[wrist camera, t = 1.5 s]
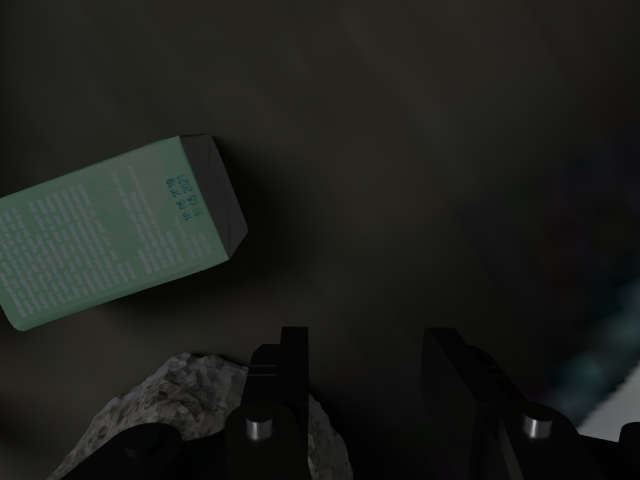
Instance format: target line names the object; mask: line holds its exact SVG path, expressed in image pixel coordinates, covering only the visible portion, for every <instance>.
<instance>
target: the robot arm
mask: <svg viewBox="0 0 640 480" xmlns="http://www.w3.org/2000/svg"><path fill="white" fill-rule="evenodd" d="M420 389H421V396H422V400H423V403H424V405H425V407H426V410H427V412H428V414H429V416H430V419H431V421H432V423H433V425H434V428H435V430H436V432H437V435H438V437H439V439H440V441H441V444H442V446H443V448H444V450H445V453H446V455H447V457H448V459H449V462H450V464H451V466H452V469H453V471H454V473H455V475H456V478H457V480H640V422H632V423H628V424H625V425H624V426H623V427H622V429H621V432H620V437H619V442H614V441H608V440H604V439H599V438H593V437H589V436H584V435H580V434H579V433H578V432H577V430H576V428H575V427H574V425H573V424H572V422H571V421H570V420H569V419H568V418H567V417H566V416H564V415H563V414H562V413H560V412H559V411H557V410H555V409H553V408H551V407H549V406H546V405H544V404H540V403H537V402H533V401H528V400H527V399H526V397H525V396H524V395H523V394H522V393H521V391H520V390H519V389H518V388H517V387H516V385H515V384H514V383H513V382H512V381H511V380H510V378H509V377H506V374H505V372H504V371H503V370H502V369H501V368H500V367H498V364H497V363H496V362H495V361H494V359H493V358H492V357H491V356H490V355H489V354H488V353H486V352H485V351H483V350H481V349H480V348H478V347H476V346H475V345H467V344H466V342H465V341H464V340H463V338H462V337H461V336H460V335H459V333H458V332H457V331H456V329H455V328H426V329H425V332H424V338H423V350H422V363H421V375H420ZM308 431H309V359H308V327H282V333H281V341H280V344H262V345H261V346H260V347H259V348H258V349H257V350H256V351H255V352H254V353H253V354H252V358H251V362H250V367H249V370H248V376H247V378H246V382H245V386H244V390H243V394H242V398H241V402H240V406H239V407H237V408H236V409H234V410H233V411H232V412H231V413H230V414H229V415H228V417H227V418H226V421H225V428H224V429H222V430H220V431H218V432H216V433H214V434H211V435H209V436H205V437H201V438H197V439H192V440H188V441H184V442H182V435H181V433H180V431H179V430H178V429H177V428H175V427H174V426H172V425H169V424H166V423H159V422H151V423H143V424H139V425H135V426H132V427H130V428H127V429H125V430H123V431H121V432H120V433H118V434H116V435H115V436H113V437H112V438H111V439H110V440H108V441H107V442H106V443H105V444H103V445H102V446H101V447H100V448H98V449H97V450H96V451H95V452H93V453H92V454H91V455H89V456H88V457H87V458H86V459H84V460H83V461H82V462H81V463H79V464H78V465H77V466H76V467H74V468H73V469H72V470H71V471H69V472H68V473H67V474H66V475H64V476H63V477H62V478H61V479H59V480H313V479H312V475H311V472H310V468H309V465H308Z"/></svg>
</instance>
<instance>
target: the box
mask: <svg viewBox="0 0 640 480" xmlns="http://www.w3.org/2000/svg"><path fill="white" fill-rule="evenodd" d="M247 233H248V228H247V224H246V222H245V219H244V216H243V214H242V211H241V208H240V206H239V203H238V201H237V198H236V195H235V193H234V190H233V187H232V185H231V182H230V179H229V177H228V174H227V172H226V169H225V166H224V164H223V161H222V159H221V157H220V154H219V152H218V150H217V147H216V145H215V143H214V141H213V139H212V137H211V136H210V135H209V134H198V135H185V136H177V137H173V138H169V139H164V140H160V141H157V142H154V143H151V144H148V145H146V146H143V147H140V148H137V149H135V150H132V151H129V152H126V153H124V154H121V155H118V156H115V157H112V158H110V159H107V160H104V161H101V162H99V163H96V164H93V165H90V166H88V167H85V168H82V169H79V170H77V171H74V172H71V173H68V174H66V175H63V176H60V177H57V178H55V179H52V180H49V181H46V182H43V183H41V184H38V185H35V186H32V187H30V188H27V189H24V190H21V191H19V192H16V193H13V194H10V195H8V196H5V197H2V198H0V305H1V306H2V308H3V310H4V312H5V314H6V316H7V318H8V320H9V322H10V323H11V324H12V325H13V327H14V328H16V329H18V330H21V331H26V330H28V329H31V328H33V327H36V326H39V325H42V324H44V323H47V322H50V321H53V320H56V319H59V318H62V317H64V316H67V315H70V314H73V313H76V312H79V311H82V310H85V309H88V308H91V307H94V306H97V305H99V304H102V303H105V302H108V301H111V300H114V299H117V298H120V297H123V296H126V295H129V294H132V293H135V292H138V291H141V290H144V289H147V288H150V287H153V286H156V285H160V284H163V283H166V282H169V281H172V280H175V279H178V278H181V277H184V276H187V275H190V274H193V273H196V272H199V271H202V270H205V269H207V268H210V267H213V266H215V265H218V264H220V263H223V262H225V261H227V260H229V259H230V258H231V257H232V255H233V253H234V252H235V250H236V248H237V247H238V246H239V244H240V243H241V241H242V240H243V239H244V237H245V236H246V234H247Z"/></svg>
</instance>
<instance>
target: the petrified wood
mask: <svg viewBox="0 0 640 480" xmlns="http://www.w3.org/2000/svg"><path fill="white" fill-rule="evenodd" d="M248 370H249V368H248V367H247V366H240V365H238V364H235V363H232V362H229V361H226V360H224V359H223V358H221V357H219V356H217V355H215V354H214V355H211V356H205V357H203V358H199V357H195V356H193V355H192V354H190V353H188V352H186V353H182V354H179V355H176V356H173V357H172V358H170V359H169V360H168V361H167V362H166V363H165V364H164V365H163V366H161V367H159V369H158V371H157V372H156V373H155V374H153V375H151V376H149V377H148V378H147V379H146V381H144V382H143V383H142V384H141V385H139V386H136V387H134V388H133V389H132V390H131V391H130V393H128V394H126V395H118V396H117V397H115V398H113V399H112V400H111V401H110V402H109V403H108V404H107V405H106V406H105V407H104V409H102V410H101V411H100V412H99V413H98V414H96V415H95V417H94V418H93V420H92V422H91V424H90V427H89V429H88V430H87V431H86V433H85V434H84V435H83V437H82V438H81V440H80V441H79V442H78V443H77V445H76V446H75V447H74V449H73V450H72V451H71V452H70V453H69V454H68V455H67V456H66V457H65V458H64V459H63V460H62V462H61V463H60V465H59V466H58V468H57V469H56V470H55V471H54V473H53V474H52V475H50V476H49V477H48V478H47V479H46V480H59V479H61V478H62V477H63V476H64V475H66V474H67V473H68V472H69V471H71V470H72V469H73V468H74V467H76V466H77V465H78V464H79V463H81V462H82V461H83V460H84V459H86V458H87V457H88V456H89V455H91V454H92V453H93V452H95V451H96V450H97V449H98V448H100V447H101V446H102V445H103V444H105V443H106V442H107V441H108V440H110V439H111V438H112V437H113V436H115V435H116V434H118V433H120V432H121V431H123V430H125V429H127V428H130V427H132V426H135V425H139V424H143V423H151V422H159V423H166V424H169V425H172V426H174V427H175V428H177V429H178V430H179V431H180V433H181V435H182V442H184V441H188V440H192V439H197V438H201V437H205V436H209V435H211V434H214V433H216V432H218V431H220V430H222V429H224V428H225V421H226V418H227V417H228V415H229V414H230V413H231V412H232V411H233V410H234V409H236V408H237V407H239V406H240V402H241V398H242V394H243V390H244V386H245V382H246V378H247V376H248ZM308 465H309V468H310V472H311V475H312V479H313V480H353V471H352V468H351V465H350V462H349V460H348V452H347V449H346V446H345V444H344V441H343V438H342V436H341V435H340V434H339V433H337V432H336V431H334V429H333V428H332V427H331V426H330V422H329V418H328V415H327V414H326V413H325V412H324V411H323V409H322V408H321V405H320V403H319V402H318V401H316V400H314V398H313V397H312V395H311V394H309V431H308Z"/></svg>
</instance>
